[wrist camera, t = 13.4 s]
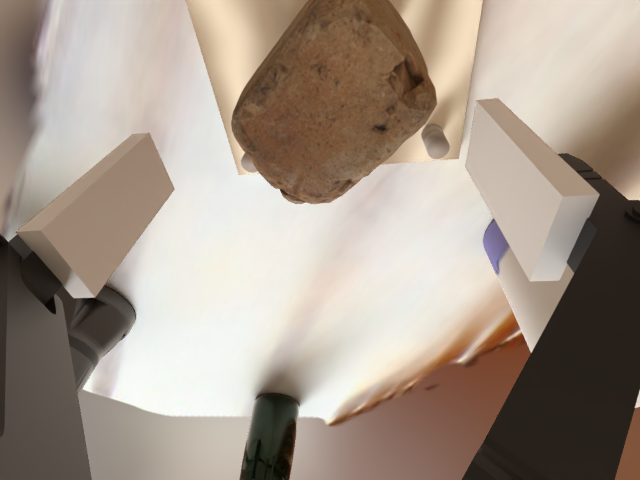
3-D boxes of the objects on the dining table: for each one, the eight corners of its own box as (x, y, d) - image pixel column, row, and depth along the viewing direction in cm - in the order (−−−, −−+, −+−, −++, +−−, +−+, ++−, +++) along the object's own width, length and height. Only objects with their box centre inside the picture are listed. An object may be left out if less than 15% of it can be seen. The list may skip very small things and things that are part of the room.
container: (559, 257, 45) (665, 412, 30) (480, 265, 47) (541, 415, 32) (579, 194, 39) (724, 350, 24) (486, 207, 41) (565, 357, 26)
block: (351, -54, 26) (350, -61, 10) (410, 29, 29) (477, 119, 13) (260, 58, 31) (172, 162, 16) (319, 118, 34) (292, 253, 19)
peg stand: (242, 168, 40) (230, 191, 36) (155, -128, 25) (119, -142, 21) (455, 152, 37) (467, 175, 33) (505, -199, 22) (538, -231, 18)
